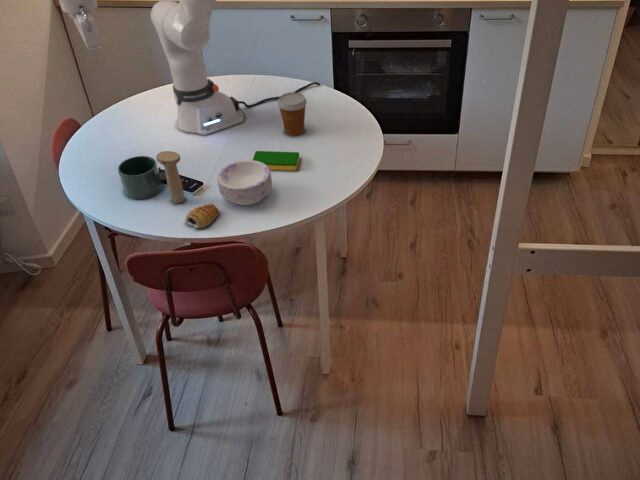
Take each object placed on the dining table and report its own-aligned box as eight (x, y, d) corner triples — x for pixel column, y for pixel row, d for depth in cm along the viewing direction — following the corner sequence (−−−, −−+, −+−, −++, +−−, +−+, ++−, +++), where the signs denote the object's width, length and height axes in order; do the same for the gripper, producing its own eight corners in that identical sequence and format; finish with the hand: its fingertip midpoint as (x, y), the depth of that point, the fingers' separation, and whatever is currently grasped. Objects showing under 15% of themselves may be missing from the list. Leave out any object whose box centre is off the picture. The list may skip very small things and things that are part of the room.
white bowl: (228, 180, 185) (224, 157, 180) (277, 182, 184) (275, 159, 178) (214, 210, 174) (210, 187, 168) (267, 213, 172) (264, 189, 167)
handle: (184, 207, 175) (173, 162, 165) (164, 203, 176) (152, 158, 166) (192, 197, 178) (182, 153, 168) (173, 194, 180) (162, 149, 170)
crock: (157, 175, 187) (151, 152, 182) (166, 193, 180) (160, 170, 175) (121, 184, 184) (114, 161, 178) (129, 203, 177) (122, 180, 171)
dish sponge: (296, 171, 188) (296, 164, 187) (252, 169, 189) (251, 162, 188) (299, 158, 194) (299, 151, 192) (256, 157, 194) (255, 150, 193)
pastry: (207, 206, 175) (205, 195, 172) (225, 214, 172) (223, 203, 170) (183, 223, 169) (181, 212, 167) (201, 232, 166) (198, 221, 164)
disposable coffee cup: (275, 135, 204) (271, 102, 196) (288, 122, 211) (285, 89, 203) (301, 140, 202) (298, 107, 194) (313, 127, 208) (311, 94, 200)
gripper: (98, 11, 150) (113, 65, 159) (84, -13, 164) (98, 38, 173) (71, 16, 148) (88, 70, 157) (59, -9, 162) (75, 42, 171)
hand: (93, 53), depth 165 cm, fingers open, 8 cm apart
